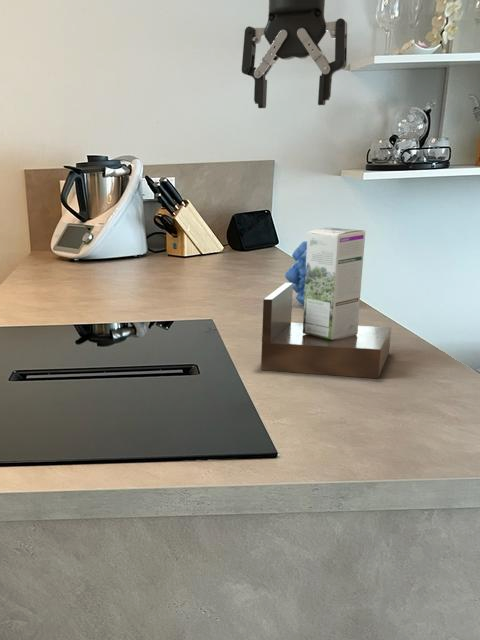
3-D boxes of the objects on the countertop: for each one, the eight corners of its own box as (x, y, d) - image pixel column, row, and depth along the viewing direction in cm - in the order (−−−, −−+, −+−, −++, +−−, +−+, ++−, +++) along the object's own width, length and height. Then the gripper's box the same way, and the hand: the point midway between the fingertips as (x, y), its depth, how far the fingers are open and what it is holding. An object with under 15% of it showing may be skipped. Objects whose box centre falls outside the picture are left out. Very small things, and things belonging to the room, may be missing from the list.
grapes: (273, 301, 158) (275, 239, 153) (305, 299, 159) (308, 238, 154) (293, 312, 148) (297, 246, 143) (327, 310, 148) (332, 244, 144)
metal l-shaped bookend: (388, 353, 117) (395, 286, 113) (378, 378, 106) (385, 303, 102) (282, 347, 123) (285, 282, 119) (260, 370, 111) (263, 299, 108)
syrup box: (359, 334, 112) (368, 228, 106) (330, 341, 109) (338, 232, 103) (328, 328, 116) (335, 226, 111) (300, 334, 114) (306, 229, 108)
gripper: (356, -27, 107) (345, 105, 113) (253, -17, 112) (248, 109, 118) (348, -37, 100) (338, 103, 107) (239, -25, 105) (235, 108, 112)
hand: (291, 106), depth 112 cm, fingers open, 8 cm apart
